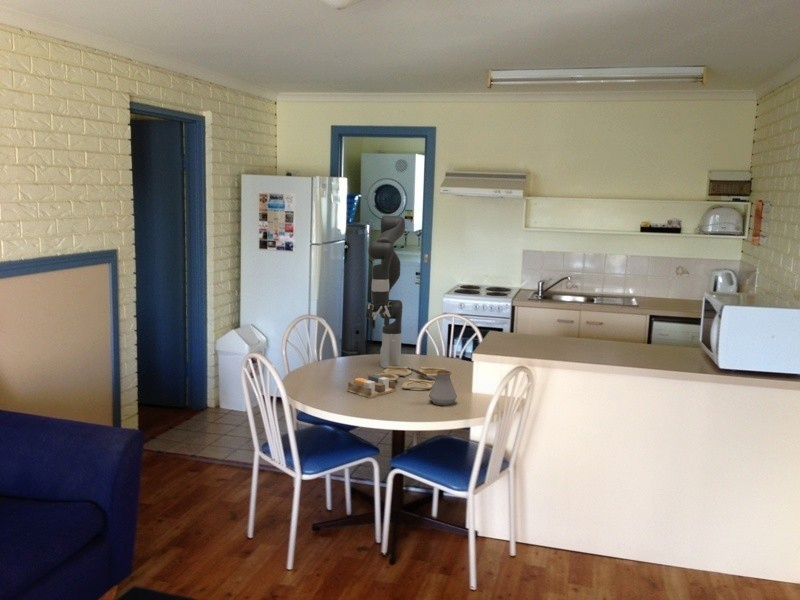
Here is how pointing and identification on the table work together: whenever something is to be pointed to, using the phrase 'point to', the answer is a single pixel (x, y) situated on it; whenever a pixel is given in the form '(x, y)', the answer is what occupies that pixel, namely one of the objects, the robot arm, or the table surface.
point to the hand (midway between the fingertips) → (379, 326)
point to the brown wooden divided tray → (367, 391)
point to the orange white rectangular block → (365, 383)
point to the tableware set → (402, 372)
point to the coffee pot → (440, 387)
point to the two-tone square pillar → (379, 380)
